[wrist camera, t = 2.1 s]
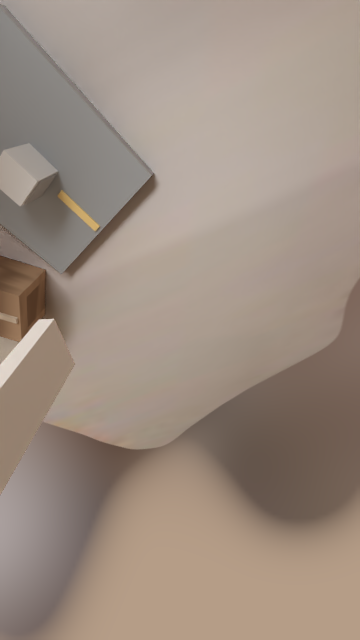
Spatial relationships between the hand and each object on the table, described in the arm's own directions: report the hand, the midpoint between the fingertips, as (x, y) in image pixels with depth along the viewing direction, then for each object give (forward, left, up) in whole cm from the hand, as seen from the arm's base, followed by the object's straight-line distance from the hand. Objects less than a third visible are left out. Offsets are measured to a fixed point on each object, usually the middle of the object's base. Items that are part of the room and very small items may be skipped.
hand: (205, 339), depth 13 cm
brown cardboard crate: (-9, -26, -22) cm, 35 cm away
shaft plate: (-14, -11, -22) cm, 28 cm away
